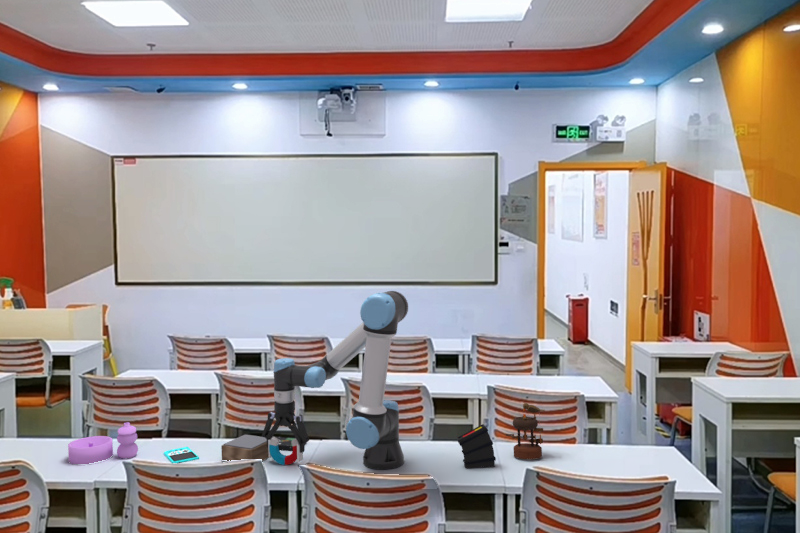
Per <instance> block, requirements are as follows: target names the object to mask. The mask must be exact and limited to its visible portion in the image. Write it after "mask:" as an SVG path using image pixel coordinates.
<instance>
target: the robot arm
mask: <svg viewBox="0 0 800 533" xmlns="http://www.w3.org/2000/svg"><path fill="white" fill-rule="evenodd" d="M408 312H409V302H408V300H407V298H406V296H405V295H403V294H402V293H401V292H399V291H395V290H389V291H384V292H376V293H374V294H371V295H370V296H368V297H367V298H365V300H364V301H363V302H362V304H361V306H360V312H359V314H360V319H361V320H362V323H361V324H359V325H358V326H357V327H356V328H354V329H353V330H352V331H351V332H350V333H349V334H348V335H347V336H346V337H345V338H344V339H343V340H342V341H340V342H339V343H338V344H337V345H336V346H335V347H333V349H331V350H330V351H329V352H328V353H327V354H326V355H324V357H322V358H321V359H320V360H319V361H316V362H314V363H311V364H309V365H298V364H295V363H296V362H295V359H294V358H290V357H286V358H278V359H276V360H275V361H274V362H273V385H274V386H273V387H274V388H273V395H274V396H273V397H274V399H273V400H274V402H273V403H274V404H273V405H274V411H270V412H268V413H267V418H266V422H265V426H264V428H263V431H262V433H261V437H265V438H266V439H267V448H268V457H269V458H272V457H271V455H270V451H269V444H270V441H271V439H272V437H273V436H274V435H275V434H276V432H277V430H278V429H279V428H280V427H285V428H288V429H290V430H291V433H292V435H293V437H294V438H296V439H297V441H298V444H297V460H296V462H297V463H300V462H302V461H303V460H304V452H305V451H306V448H305V447H306V445H305V443H306V442H307V443H308V442H310V438H309V435H308V432H307V430H306V427H305V424H304V421H303V415H301V414H300V415H296V414H295V411H296V401H295V399H296V391H295V390H296V389H295V388H296V387H303V388H311V389H317V388H319V389H320V388H322V387H323V386H324V384H325V382H326V381H328V380H330V379H333V378H334V377H336V376H337V375H338V373H339V371H340V370H341V369H342V368H344V366H345V365H347V364H348V363H349V362H350V361H351V360H353V358H355V357H356V356H357V355H358V354H359V353H361V352H362V351H363V350H364V356H363V364H362V370H361V372H362V373H361V379H360V388H359V397H358V402H356V403H355V404H354V405H353V410H352V416H351V417H352V418H350V419H349V421H348V422H347V424H346V428H345V433H346V434H345V435H346V438H347V440H348V441H349V442H350V443H351V445H353V446H354V447H355V448H357V449H360V450H364V454H363V457H362V461H363V462H362V464H363V465H364V467H367V468H369V469H374V470H390V469H391V470H392V469H396V468H399V467H401V466H402V465H404V463H405V460H404V459H405V455H404V453H403V450H402V446H401V444H400V437H399V436H400V421H399V420H400V414H399V413H400V409H399V404H398V402H397V401H395V400H389V399H385V394H386V393H385V391H386V385H387V376H388V367H389V361H390V360H389V359H390V351H391V344H392V339H393V337H395V336H396V335H397V332H398V326H399V325H398V324H399V323H400V322H402V321H403V320H404V319H405V318H406V316H407V315H408ZM274 420H276V421H275V422H274ZM272 425H273V426H272Z"/></svg>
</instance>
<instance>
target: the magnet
mask: <svg viewBox="0 0 800 533" xmlns="http://www.w3.org/2000/svg"><path fill="white" fill-rule="evenodd" d="M276 437H277V436H274V435H273V437H272V439H271V441H270V444H269V451H270V455H271V457H270V458H272V459H273V461H274V462H276V464H279V465H281V466H282V465H283V466H288V465H292V464H293V463H294V462H297V444H298V441H297V439H296V438H295V437H294V438H295V439H294V440H293V441H292V442H291V443H292V446H293V451H291V453H290V454H288V455H286V454H283V453H282V452H281V451H280V450H279V448H278V444H279V441H280V440H279V439H278V438H276Z"/></svg>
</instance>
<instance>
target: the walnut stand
mask: <svg viewBox="0 0 800 533" xmlns="http://www.w3.org/2000/svg"><path fill="white" fill-rule="evenodd" d="M269 458H270V457H268V448H267V439H266V438H265V437H262V436H258V435H252V434H243V435H240V436H238V437H236V438H234V439H232V440H229V441H228V442H225V443H223V444H222V445H221V461H222V460H227V461H229V460H230V461H231V460H241V459H262V460H263V461H265V460H267V459H269Z"/></svg>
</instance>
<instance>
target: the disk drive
mask: <svg viewBox="0 0 800 533" xmlns="http://www.w3.org/2000/svg"><path fill="white" fill-rule="evenodd" d="M275 437H276V438H278V439H279V440H280V441H279V444H278V448H279V451H280V450H281V451H282V452H283V451H284V452H293V446H292V443H291V442H292V441H293V440H294V439H295V437H287V436H275ZM307 443H308V442H306V443H305V446H306V445H307ZM281 451H280V452H281Z"/></svg>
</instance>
